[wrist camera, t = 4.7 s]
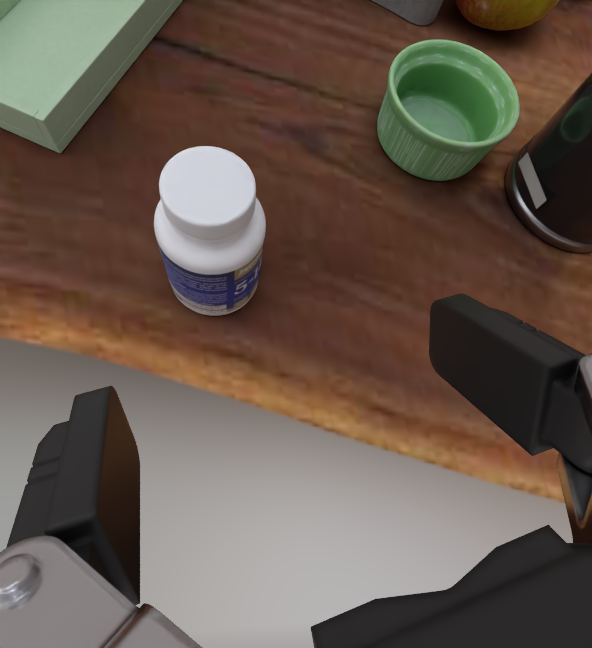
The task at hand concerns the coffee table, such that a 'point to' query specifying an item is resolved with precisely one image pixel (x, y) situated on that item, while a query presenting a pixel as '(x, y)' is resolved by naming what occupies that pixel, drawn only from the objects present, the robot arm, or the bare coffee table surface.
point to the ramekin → (445, 109)
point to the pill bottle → (210, 229)
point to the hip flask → (413, 9)
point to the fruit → (504, 12)
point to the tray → (68, 60)
